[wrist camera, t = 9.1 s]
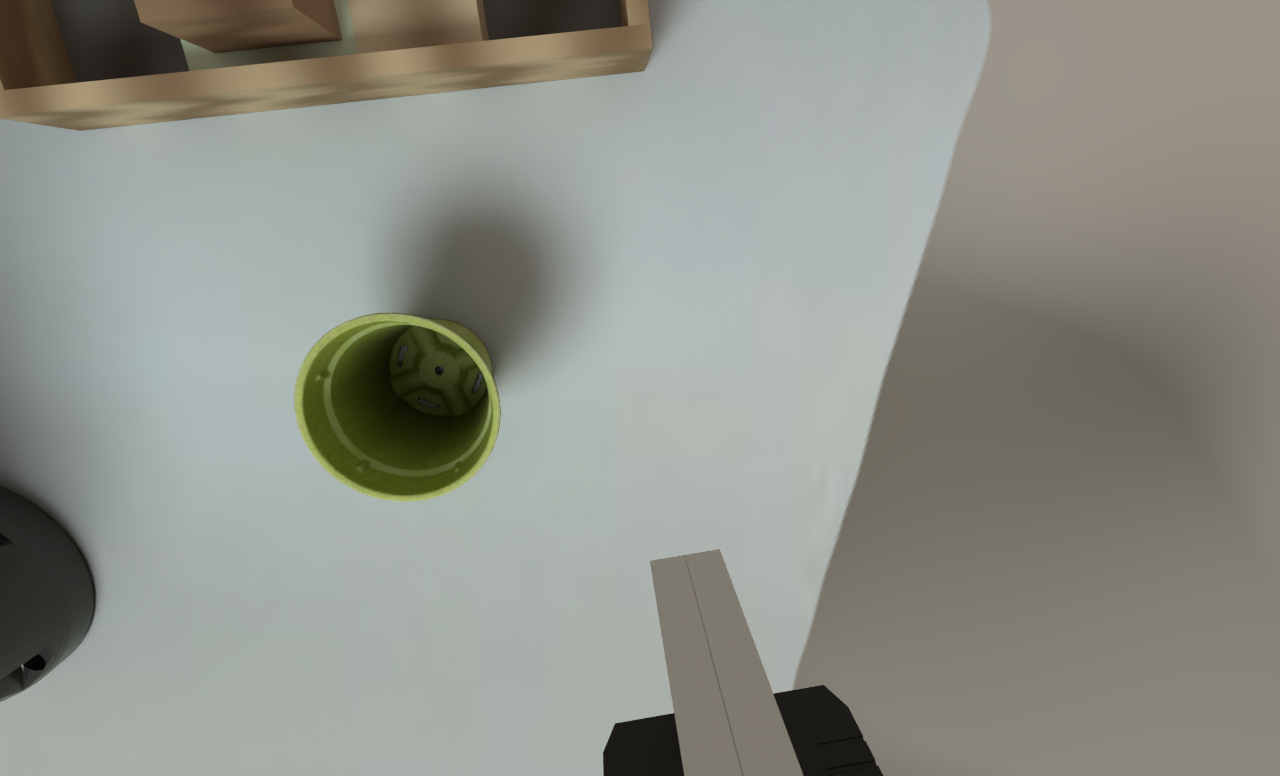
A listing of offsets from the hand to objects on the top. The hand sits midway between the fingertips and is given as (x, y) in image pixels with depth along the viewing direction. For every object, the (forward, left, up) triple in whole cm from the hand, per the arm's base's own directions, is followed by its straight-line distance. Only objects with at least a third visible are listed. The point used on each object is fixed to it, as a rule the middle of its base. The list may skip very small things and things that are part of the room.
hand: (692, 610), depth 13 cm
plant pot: (-11, 0, -26) cm, 28 cm away
